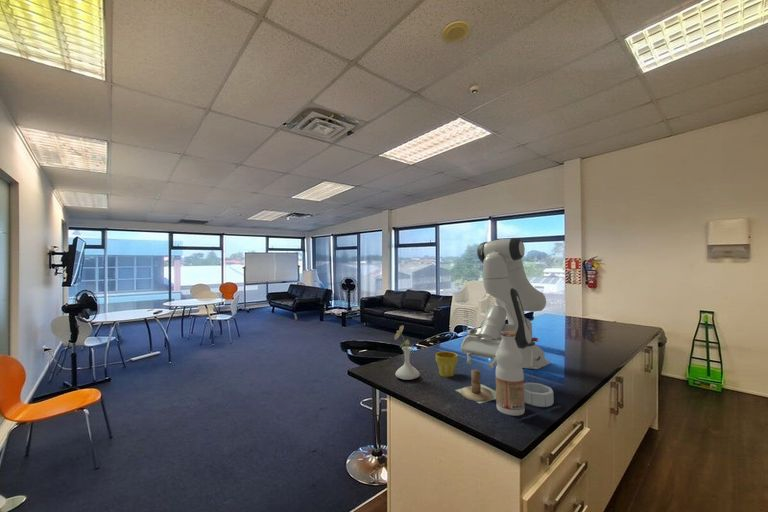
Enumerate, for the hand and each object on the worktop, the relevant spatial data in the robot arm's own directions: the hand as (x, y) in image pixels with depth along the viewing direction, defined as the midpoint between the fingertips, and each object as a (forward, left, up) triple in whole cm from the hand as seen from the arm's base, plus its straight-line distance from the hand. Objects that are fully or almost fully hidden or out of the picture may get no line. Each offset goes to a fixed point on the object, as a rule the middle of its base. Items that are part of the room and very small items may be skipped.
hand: (479, 365), depth 125 cm
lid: (+3, +1, -11) cm, 11 cm away
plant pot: (-1, -23, -12) cm, 26 cm away
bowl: (-13, +16, -11) cm, 24 cm away
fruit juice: (+1, +16, -12) cm, 20 cm away
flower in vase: (+18, -29, -12) cm, 36 cm away
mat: (+1, +1, -11) cm, 11 cm away
